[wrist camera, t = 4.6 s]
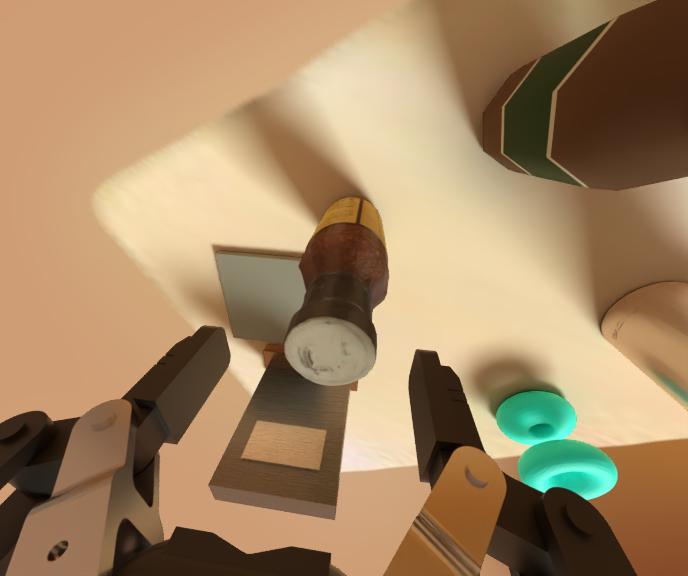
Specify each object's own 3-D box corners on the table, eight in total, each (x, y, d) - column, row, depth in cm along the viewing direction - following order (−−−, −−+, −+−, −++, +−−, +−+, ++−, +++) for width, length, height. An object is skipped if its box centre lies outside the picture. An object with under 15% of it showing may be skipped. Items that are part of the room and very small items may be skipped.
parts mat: (323, 259, 30) (321, 262, 30) (323, 342, 37) (321, 347, 36) (219, 250, 32) (214, 253, 31) (236, 332, 38) (233, 337, 37)
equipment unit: (360, 354, 37) (347, 500, 22) (357, 383, 40) (344, 528, 25) (267, 344, 38) (194, 474, 23) (271, 372, 41) (208, 504, 26)
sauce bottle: (318, 239, 29) (233, 376, 12) (335, 184, 26) (252, 264, 9) (372, 259, 30) (362, 418, 13) (394, 207, 27) (423, 325, 9)
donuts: (575, 513, 33) (506, 490, 32) (534, 436, 41) (479, 416, 41) (648, 480, 28) (569, 452, 27) (584, 400, 36) (523, 377, 36)
